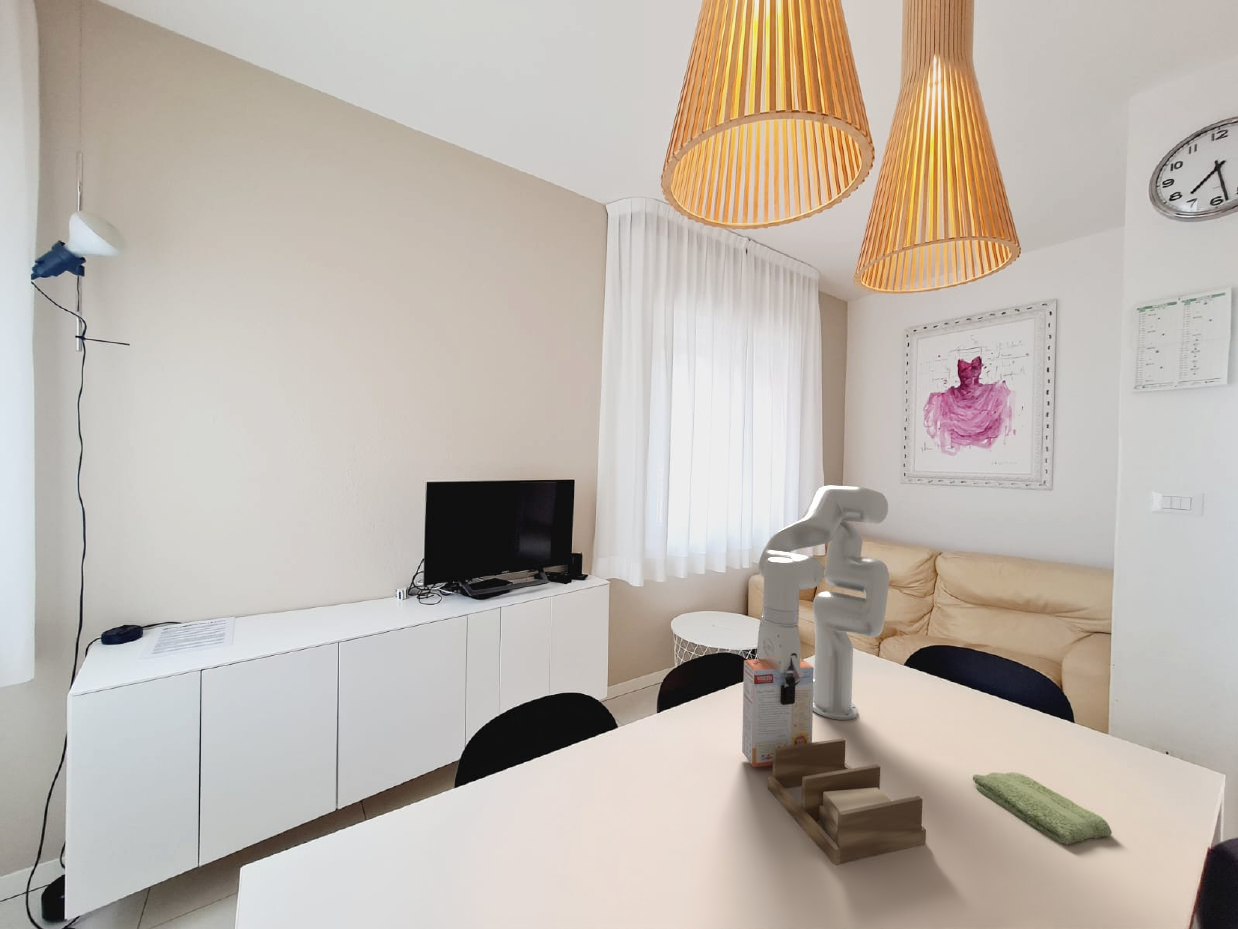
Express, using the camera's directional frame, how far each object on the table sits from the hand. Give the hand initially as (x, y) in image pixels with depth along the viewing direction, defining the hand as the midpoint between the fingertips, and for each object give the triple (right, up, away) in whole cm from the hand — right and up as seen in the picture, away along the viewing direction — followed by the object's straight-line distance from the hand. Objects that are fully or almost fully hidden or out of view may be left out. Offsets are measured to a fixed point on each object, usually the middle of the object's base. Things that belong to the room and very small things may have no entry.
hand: (777, 695), depth 106 cm
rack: (+7, -15, -15) cm, 22 cm away
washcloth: (+47, -17, -12) cm, 51 cm away
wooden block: (+8, -15, -20) cm, 26 cm away
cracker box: (-1, -14, 0) cm, 14 cm away
